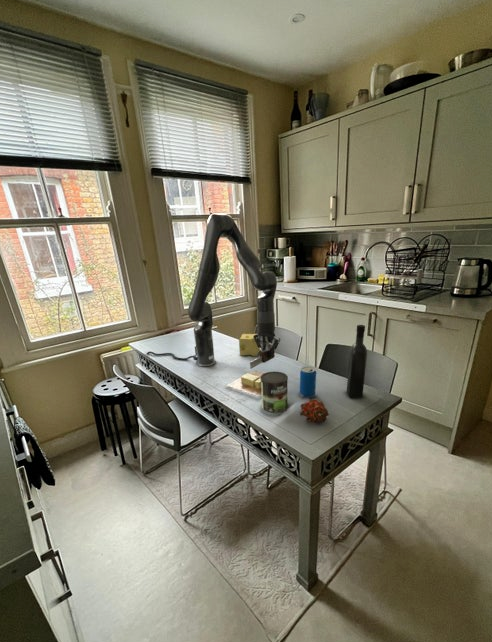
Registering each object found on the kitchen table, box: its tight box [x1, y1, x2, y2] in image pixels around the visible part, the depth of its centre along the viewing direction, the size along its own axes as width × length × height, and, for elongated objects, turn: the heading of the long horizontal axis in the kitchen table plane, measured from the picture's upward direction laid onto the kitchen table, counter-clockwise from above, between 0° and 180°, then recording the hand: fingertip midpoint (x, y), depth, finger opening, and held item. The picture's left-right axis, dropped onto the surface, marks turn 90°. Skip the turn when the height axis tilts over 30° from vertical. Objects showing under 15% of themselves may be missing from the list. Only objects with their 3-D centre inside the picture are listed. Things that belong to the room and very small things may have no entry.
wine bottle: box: [346, 324, 368, 399], centre depth 126 cm, size 6×6×30 cm
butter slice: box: [255, 378, 261, 389], centre depth 139 cm, size 2×5×3 cm, turn 141°
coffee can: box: [261, 371, 289, 416], centre depth 122 cm, size 10×10×14 cm
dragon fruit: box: [299, 399, 330, 424], centre depth 116 cm, size 8×8×12 cm
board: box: [226, 369, 265, 397], centre depth 144 cm, size 18×20×2 cm
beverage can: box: [299, 366, 317, 399], centre depth 131 cm, size 6×6×12 cm
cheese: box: [238, 333, 261, 357], centre depth 180 cm, size 10×11×10 cm
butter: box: [240, 372, 259, 387], centre depth 143 cm, size 7×5×3 cm, turn 51°
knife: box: [249, 346, 276, 370], centre depth 139 cm, size 2×16×5 cm, turn 141°
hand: (267, 357), depth 142 cm, fingers closed on knife, 2 cm apart
